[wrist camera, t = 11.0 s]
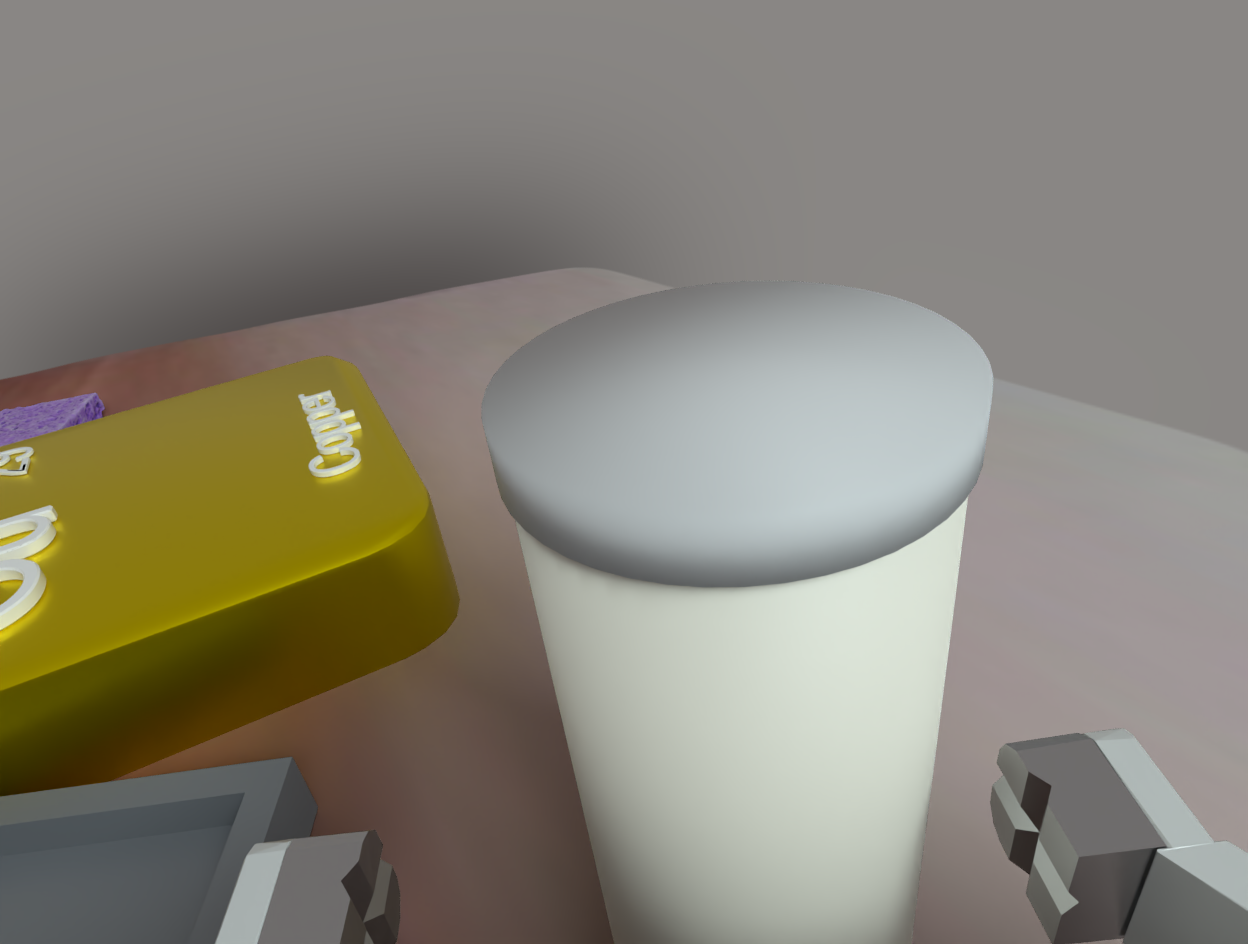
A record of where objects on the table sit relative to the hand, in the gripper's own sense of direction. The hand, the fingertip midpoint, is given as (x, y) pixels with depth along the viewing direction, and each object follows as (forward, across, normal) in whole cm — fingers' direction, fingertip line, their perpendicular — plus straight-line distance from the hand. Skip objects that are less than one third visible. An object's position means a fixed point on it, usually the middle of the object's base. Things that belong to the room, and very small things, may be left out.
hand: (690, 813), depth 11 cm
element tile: (+16, -15, -7) cm, 23 cm away
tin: (+2, +1, -6) cm, 7 cm away
